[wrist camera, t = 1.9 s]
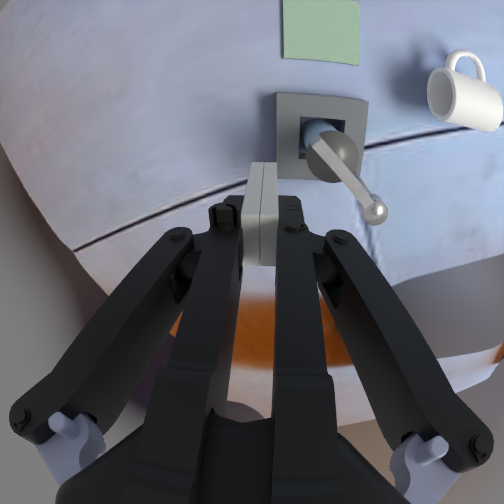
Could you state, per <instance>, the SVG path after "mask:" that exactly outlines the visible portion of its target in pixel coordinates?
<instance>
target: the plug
mask: <svg viewBox="0 0 504 504" xmlns="http://www.w3.org/2000/svg"><path fill="white" fill-rule="evenodd" d="M317 134H319V135H320V136H321V137H322V138H323V139H324V140H325V142H326V143H327V144H328V145H329V146H330V147H331V148H332V149H333V151H334V152H335V153H336V154H337V155H338V156H339V158H340V159H341V160H342V161H343V162H344V164H345V165H346V166H347V167H348V168H349V170H350V171H351V172H352V173H354V172H355V171H356V169H357V167H358V164H359V158H360V157H359V150H358V148H357V146H356V144H355V143H354V141H353V140H352V139H351V138H350V137H349V136H347V135H346V134H344V133H342V132H340V131H337V130H336V129H335V128H334V127H333V126H332V125H331V124H330V123H329V122H327V121H326V120H323V119H314V120H311V121H310V122H308V123H307V124H306V125H305V126H304V128H303V131H302V139H303V141H304V144H305V146H306V149H307V150H306V160H307V164H308V167H309V169H310V171H311V172H312V173H313V175H314V176H315V177H317V178H318V179H320V180H322V181H324V182H329V183H337V182H341V181H342V180H341V179H340V178H339V177H338V175H337V174H336V173H335V172H334V171H333V170H332V169H331V167H330V166H329V165H328V164H327V163H326V162H325V161H324V160H323V159H322V157H321V156H320V155H319V154H318V153H317V152H316V151H315V150H314V149H313V148H312V146H311V144H310V142H309V141H310V140H311V139H312V138H314V137H315V136H316V135H317Z"/></svg>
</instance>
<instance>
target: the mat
mask: <svg viewBox="0 0 504 504" xmlns="http://www.w3.org/2000/svg"><path fill="white" fill-rule="evenodd" d="M283 27H284V58H295V59H310V60H321V61H331V62H339V63H346V64H352V65H359V3H358V2H354V1H349V0H283Z"/></svg>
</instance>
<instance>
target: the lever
mask: <svg viewBox="0 0 504 504" xmlns="http://www.w3.org/2000/svg"><path fill="white" fill-rule="evenodd" d="M309 142H310V144H311V146H312V148H313V149H314V150H315V151H316V152H317V153H318V154H319V155H320V156H321V157H322V159H323V160H324V161H325V162H326V163H327V164H328V165H329V166H330V167H331V169H332V170H333V171H334V172H335V173H336V174H337V175H338V177H339V178H340V179H341V180H342V181H343V182H344V184H345V185H346V186H347V187H348V188H349V190H350V191H351V192H352V193H353V195H354V196H355V197H356V198H357V199H358V201H359V202H360V203H359V209H360V212H361V214H362V216H363V218H364V220H365V221H366V223H368V224H369V225H373V226H375V225H379V224H381V223H383V222H384V221H385V220H386V218H387V216H388V209H387V207H386V205H385V204H384V202H383V201H382V200H381V198H380V197H379V196H378V195H376V194H368V192H367V191H366V190H365V188H364V187H363V186H362V184H361V183H360V182H359V181H358V179H357V178H356V177H355V176H354V174H353V173H352V172H351V171H350V170H349V168H348V167H347V166H346V165H345V164H344V162H343V161H342V160H341V159H340V158H339V156H338V155H337V154H336V153H335V152H334V151H333V149H332V148H331V147H330V146H329V145H328V144H327V143H326V142H325V140H324V139H323V138H322V137H321V136H320V135H319V134H317V135H316V136H315V137H314V138H312V139H311V140H310V141H309Z"/></svg>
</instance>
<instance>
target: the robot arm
mask: <svg viewBox="0 0 504 504" xmlns="http://www.w3.org/2000/svg"><path fill="white" fill-rule="evenodd" d="M208 211H209V219H210V228H209V231H207V232H204V233H200V234H195V235H193V234H192V231H191V230H190V229H189V228H186V227H176V228H173V229H170V230H168V231H167V232H166V233H165V234H164V235H163V236H162V237H161V238H160V239H159V240H158V241H157V242H156V243H155V244H154V245H153V246H152V248H151V249H150V250H149V251H148V252H147V253H146V254H145V255H144V256H143V257H142V259H141V260H140V261H139V262H138V263H137V264H136V265H135V266H134V268H133V269H132V270H131V271H130V272H129V273H128V274H127V276H126V277H125V278H124V279H123V280H122V281H121V283H120V284H119V285H118V286H117V287H116V288H115V290H114V291H113V292H112V293H111V294H110V296H109V297H108V298H107V299H106V300H105V302H104V303H103V304H102V305H101V307H100V308H99V309H98V310H97V312H96V313H95V314H94V315H93V317H92V318H91V319H90V320H89V322H88V323H87V324H86V325H85V327H84V328H83V329H82V331H81V332H80V333H79V335H78V336H77V337H76V339H75V340H74V341H73V343H72V344H71V345H70V347H69V348H68V349H67V351H66V352H65V353H64V355H63V356H62V358H61V359H60V360H59V362H58V363H57V365H56V366H55V368H54V369H53V371H52V372H51V373H49V374H48V375H47V376H46V377H44V378H43V379H42V380H41V381H40V382H38V383H37V384H36V385H35V386H34V387H32V388H31V389H30V390H29V391H27V392H26V393H25V394H24V395H23V396H21V397H20V398H19V399H18V400H17V401H16V402H15V403H14V404H13V405H12V407H11V410H10V413H9V421H10V426H11V428H12V429H13V431H14V432H15V433H16V434H18V435H19V436H21V437H23V438H24V439H26V440H28V441H30V442H32V443H33V444H34V445H35V446H36V448H37V450H38V451H39V453H40V455H41V457H42V459H43V460H44V462H45V464H46V465H47V467H48V469H49V470H50V472H51V474H52V475H53V477H54V478H55V480H56V481H57V483H58V484H59V486H60V488H59V490H58V492H57V495H56V501H55V504H437V503H438V502H439V500H440V499H441V498H442V497H443V496H444V495H445V494H446V492H447V491H448V490H449V489H450V488H451V486H452V485H453V484H454V483H455V481H456V480H457V479H458V478H459V476H460V475H461V474H462V473H464V472H466V471H468V470H471V469H473V468H476V467H478V466H480V465H482V464H484V463H485V462H486V461H487V460H488V459H489V458H490V455H491V453H492V451H493V445H494V440H493V435H492V433H491V431H490V430H489V428H488V427H487V426H486V425H485V424H484V423H483V422H482V421H481V420H480V419H479V418H478V417H477V415H476V414H475V413H474V412H473V411H472V410H471V409H470V408H469V407H468V406H467V405H466V404H465V403H464V402H463V401H462V400H461V399H460V398H459V397H458V396H457V395H456V394H455V393H454V391H453V389H452V387H451V385H450V383H449V381H448V379H447V378H446V376H445V374H444V372H443V370H442V368H441V366H440V365H439V363H438V361H437V359H436V358H435V356H434V354H433V352H432V351H431V349H430V347H429V345H428V344H427V342H426V340H425V339H424V337H423V336H422V334H421V332H420V330H419V329H418V327H417V326H416V324H415V322H414V321H413V319H412V318H411V316H410V315H409V313H408V311H407V310H406V308H405V307H404V305H403V304H402V302H401V301H400V299H399V298H398V296H397V295H396V293H395V292H394V290H393V289H392V287H391V286H390V284H389V283H388V282H387V280H386V279H385V277H384V276H383V274H382V273H381V272H380V270H379V269H378V267H377V266H376V265H375V263H374V262H373V261H372V259H371V258H370V256H369V255H368V254H367V252H366V251H365V250H364V248H363V247H362V246H361V244H360V243H359V242H358V241H357V239H356V238H355V237H354V236H353V235H352V234H351V233H349V232H347V231H345V230H331V231H329V232H327V233H326V236H325V237H324V236H320V235H317V234H314V233H312V232H310V231H309V229H308V226H307V225H306V224H305V222H304V217H303V211H302V205H301V200H300V199H299V198H298V197H297V196H282V195H278V180H277V162H265V163H264V162H252V163H251V168H250V173H249V178H248V182H247V187H246V192H245V196H241V195H229V196H228V197H227V198H225V199H224V201H223V203H218V204H215V205H213V206H211V207H210V208H209V209H208ZM242 263H243V265H256V266H276V276H275V332H274V365H273V391H272V411H271V418H267V419H262V420H257V421H251V422H244V423H241V422H237V421H234V420H231V419H228V418H226V402H227V394H228V386H229V378H230V370H231V362H232V354H233V346H234V338H235V330H236V322H237V314H238V306H239V298H240V291H241V283H242V275H243V266H242ZM317 283H318V287H319V289H320V291H321V293H322V296H323V298H324V300H325V302H326V304H327V306H328V308H329V310H330V313H331V315H332V317H333V319H334V321H335V324H336V326H337V328H338V330H339V332H340V335H341V337H342V339H343V341H344V343H345V346H346V348H347V350H348V353H349V355H350V357H351V359H352V362H353V364H354V366H355V369H356V371H357V373H358V376H359V378H360V380H361V383H362V385H363V388H364V390H365V392H366V395H367V397H368V400H369V402H370V405H371V407H372V410H373V412H374V415H375V417H376V420H377V422H378V425H379V427H380V429H381V431H382V433H383V436H384V438H385V439H386V441H387V443H388V444H389V446H390V448H391V449H392V450H393V451H394V452H393V454H392V456H391V460H390V466H389V468H390V471H391V472H392V473H393V476H394V478H395V487H393V486H392V485H391V484H390V483H389V482H388V481H387V480H386V479H385V478H384V477H383V476H382V475H381V474H380V473H379V472H378V471H377V470H376V469H375V468H374V467H373V466H372V465H371V464H370V463H369V462H368V461H367V460H366V459H365V458H364V457H363V456H362V455H361V454H360V453H359V452H358V451H357V450H356V449H355V448H354V447H353V446H352V444H351V443H350V442H349V441H348V440H347V439H346V438H345V437H343V436H342V435H341V434H339V433H338V432H337V419H336V404H335V392H334V383H333V379H332V376H331V375H329V374H328V372H327V364H326V354H325V344H324V335H323V326H322V317H321V309H320V302H319V294H318V287H317ZM182 311H183V313H182V316H181V320H180V323H179V326H178V330H177V333H176V337H175V341H174V344H173V348H172V351H171V355H170V359H169V362H168V364H167V365H166V366H161V368H160V369H159V370H158V372H157V375H156V378H155V382H154V385H153V389H152V393H151V396H150V400H149V404H148V408H147V412H146V416H145V420H144V424H142V425H141V426H140V427H138V428H137V429H136V430H134V431H133V432H132V433H131V434H129V435H128V436H127V437H126V438H124V439H123V440H122V441H120V442H119V443H118V444H116V445H115V446H114V447H112V448H111V449H110V450H109V451H107V452H106V453H104V452H105V449H106V444H105V442H104V438H103V435H104V434H105V433H106V432H107V431H108V430H109V429H110V428H111V426H112V425H113V424H114V423H115V421H116V420H117V418H118V417H119V415H120V414H121V412H122V411H123V409H124V407H125V406H126V404H127V402H128V400H129V399H130V397H131V395H132V393H133V391H134V390H135V388H136V386H137V385H138V383H139V381H140V380H141V378H142V376H143V375H144V373H145V371H146V370H147V368H148V366H149V365H150V363H151V361H152V359H153V358H154V356H155V354H156V353H157V351H158V350H159V348H160V346H161V345H162V343H163V341H164V340H165V338H166V336H167V335H168V333H169V332H170V330H171V328H172V327H173V325H174V323H175V322H176V320H177V319H178V317H179V315H180V314H181V312H182ZM102 453H104V454H103V455H102V456H101V457H99V458H98V459H97V457H98V455H99V454H102Z"/></svg>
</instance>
